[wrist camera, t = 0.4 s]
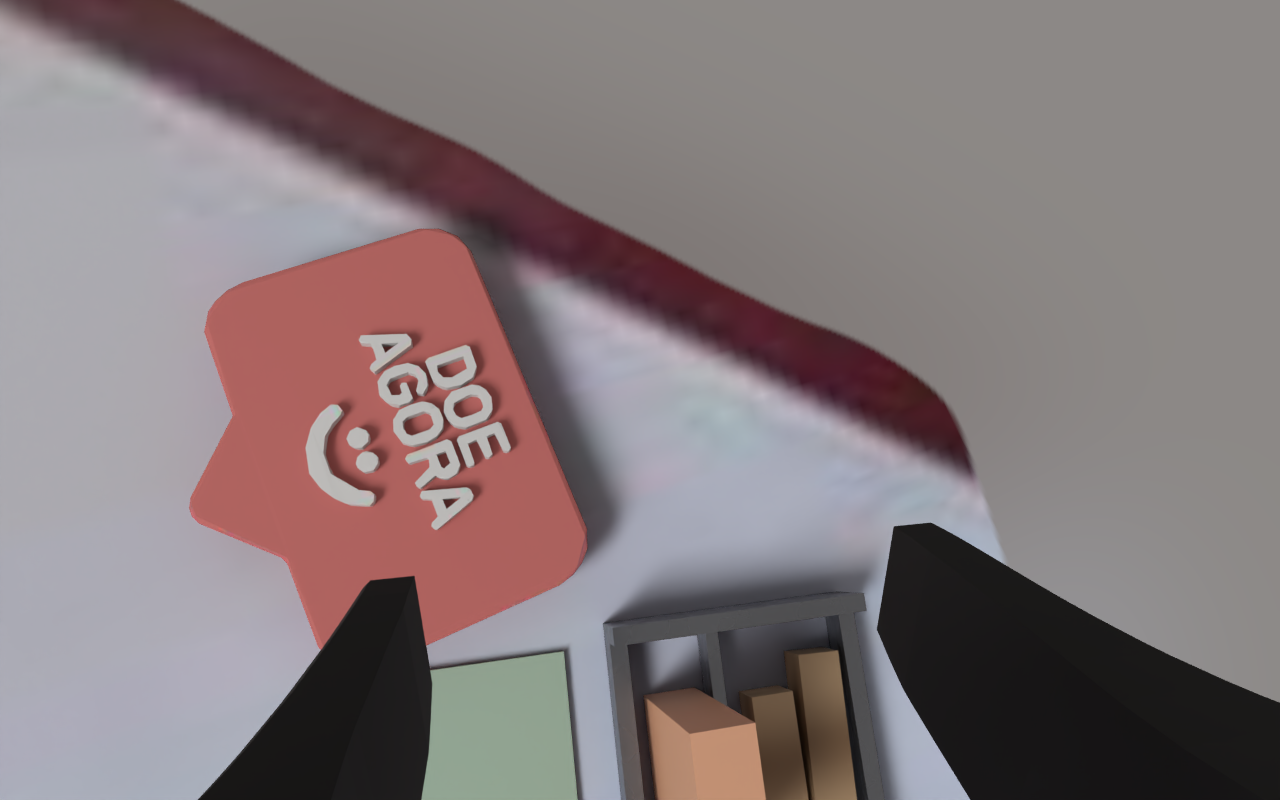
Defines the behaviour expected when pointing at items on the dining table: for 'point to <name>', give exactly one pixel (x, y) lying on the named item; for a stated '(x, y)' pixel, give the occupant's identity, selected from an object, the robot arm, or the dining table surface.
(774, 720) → the offcut short
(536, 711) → the mat
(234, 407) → the red flat case
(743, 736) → the tall orange plank
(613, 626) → the rack
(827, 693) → the block
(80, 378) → the dining table surface
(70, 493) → the dining table surface
